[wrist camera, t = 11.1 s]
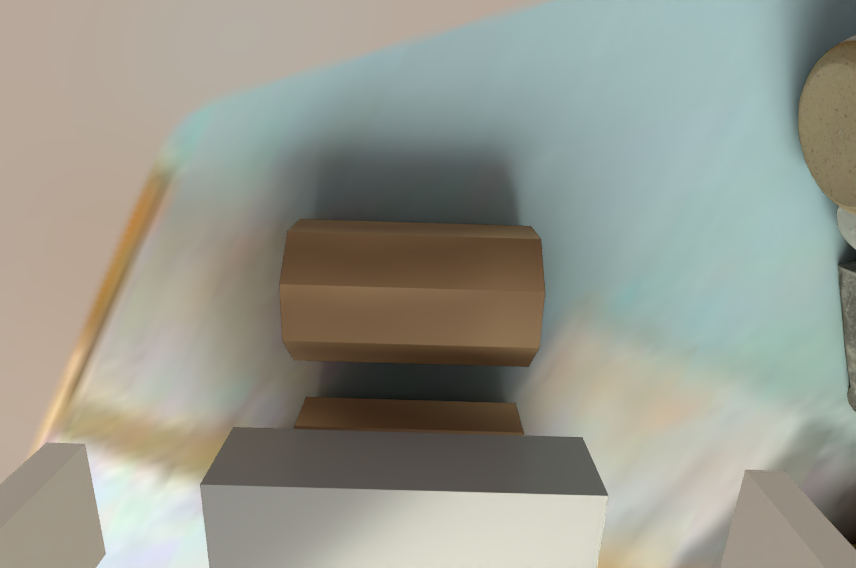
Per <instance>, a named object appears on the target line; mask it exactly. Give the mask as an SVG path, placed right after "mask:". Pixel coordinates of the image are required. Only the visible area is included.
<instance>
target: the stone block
mask: <svg viewBox="0 0 856 568" xmlns="http://www.w3.org/2000/svg"><path fill="white" fill-rule="evenodd" d="M838 270H839V286H840V295H841V305H842V315H843V328H844V341H845V352H846V358H847V364H848V373H849V379H850V388H849V389H848V393H847V396H848V402H849V404H850V405H851V407H852V408H853V410H854V411H856V261H851V262H847V263H843V264H840V265H838Z"/></svg>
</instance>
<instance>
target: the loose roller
mask: <svg viewBox="0 0 856 568" xmlns="http://www.w3.org/2000/svg"><path fill="white" fill-rule="evenodd" d="M279 287H280V305H281V323H282V341H283V343H284V344H285V346H286V348H287V349H288V351H289V353H290V355H291V356H292V358H293V360H305V361H341V362H377V363H413V364H449V365H485V366H522V367H529V365H530V363H531V362H532V360H533V358H534V356H535V355H536V353H537V351H538V350H539V347H540V337H541V327H542V318H543V308H544V298H545V284H544V271H543V258H542V245H541V238H540V237H539V236H538V235H537V233H536V232H535V231H534V229H533V228H532V227H531V226H513V225H480V224H447V223H414V222H381V221H348V220H316V219H300V220H299V221H298V222H297V223H296V224H295V225H293V226H292V227H291V228H290V229H289V230H288V231H287V238H286V244H285V251H284V257H283V264H282V270H281V277H280V283H279Z"/></svg>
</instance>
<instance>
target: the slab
mask: <svg viewBox="0 0 856 568" xmlns="http://www.w3.org/2000/svg"><path fill="white" fill-rule="evenodd" d="M200 488H201V497H202V506H203V514H204V523H205V532H206V541H207V550H208V558H209V567H210V568H597V564H598V558H599V552H600V546H601V540H602V534H603V527H604V521H605V515H606V509H607V503H608V497H609V496H608V493H607V491H606V489H605V487H604V485H603V482H602V480H601V478H600V476H599V473H598V471H597V469H596V467H595V464H594V462H593V460H592V458H591V456H590V453H589V451H588V449H587V447H586V444H585V442H584V440H583V438H582V437H551V436H516V435H482V434H447V433H413V432H378V431H343V430H309V429H274V428H240V427H233V429H232V431H231V432H230V434H229V436H228V438H227V439H226V441H225V443H224V444H223V446H222V448H221V450H220V451H219V453H218V455H217V456H216V458H215V460H214V462H213V463H212V465H211V467H210V469H209V470H208V472H207V474H206V475H205V477H204V479H203V481H202V482H201V484H200Z"/></svg>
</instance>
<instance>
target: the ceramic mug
mask: <svg viewBox="0 0 856 568" xmlns="http://www.w3.org/2000/svg"><path fill="white" fill-rule="evenodd" d="M798 130H799V138H800V143H801V147H802V151H803V154H804V158H805V162H806V164H807V166H808V168H809V170H810V172H811V175H812V177H813V178H814V180H815V181H816V183H817V184H818V186H819V187H820V189H821V190H822V191H823V192H824V193H825V194H826V195H827V196H828V197H829V198H830V199H831V200H832V201H833V202H834V203H835V204H836V205H838V209H837V213H836V215H837V222H838V223H837V225H838V229H839V231H840V233H841V235H842V236H843V237H844V239H845V240H846V241H847V242H848V243H849V244H850V245H851V246H852V247H853V248H854V249H855V250H856V35H854V36H852V37H850V38H848V39H846V40H844V41H842V42H841V43H839V44H838V45H836V46H834V47H833V48H831V49H830V50H828V51H827V52H826V53H825V54H824V55H823V56H822V57H821V58H820V59H819V60H818V61H817V62H816V64H815V65H814V67H813V68H812V70H811V72H810V73H809V75H808V77H807V79H806V82H805V85H804V88H803V91H802V94H801V97H800V101H799V111H798Z"/></svg>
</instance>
